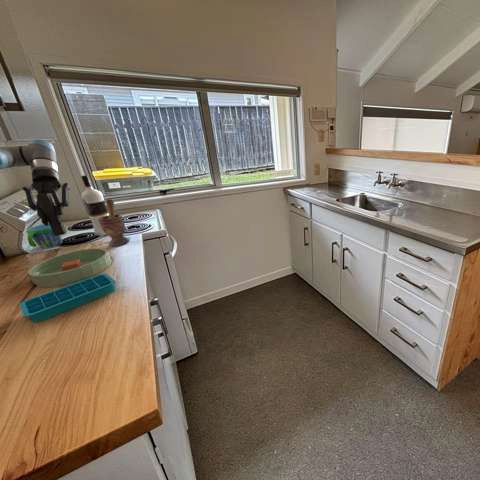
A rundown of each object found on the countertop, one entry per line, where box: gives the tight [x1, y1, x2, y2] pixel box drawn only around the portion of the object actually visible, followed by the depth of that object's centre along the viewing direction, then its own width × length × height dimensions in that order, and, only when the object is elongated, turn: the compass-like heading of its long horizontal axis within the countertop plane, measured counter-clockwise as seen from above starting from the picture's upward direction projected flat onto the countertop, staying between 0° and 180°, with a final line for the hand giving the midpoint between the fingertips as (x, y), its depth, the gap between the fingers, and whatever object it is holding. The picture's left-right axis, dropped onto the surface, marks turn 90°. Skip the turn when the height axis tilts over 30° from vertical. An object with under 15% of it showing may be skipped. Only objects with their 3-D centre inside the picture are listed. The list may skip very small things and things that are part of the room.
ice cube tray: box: [19, 272, 117, 323], centre depth 77 cm, size 12×20×3 cm, turn 143°
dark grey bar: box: [35, 193, 67, 236], centre depth 99 cm, size 3×3×16 cm
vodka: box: [80, 175, 109, 237], centre depth 130 cm, size 9×9×30 cm
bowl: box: [27, 247, 113, 288], centre depth 94 cm, size 22×22×5 cm
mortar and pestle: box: [98, 198, 130, 247], centre depth 118 cm, size 12×9×20 cm
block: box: [61, 259, 83, 271], centre depth 92 cm, size 4×4×4 cm
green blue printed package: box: [25, 223, 63, 249], centre depth 119 cm, size 16×10×10 cm
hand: (51, 222), depth 96 cm, fingers closed on dark grey bar, 3 cm apart
